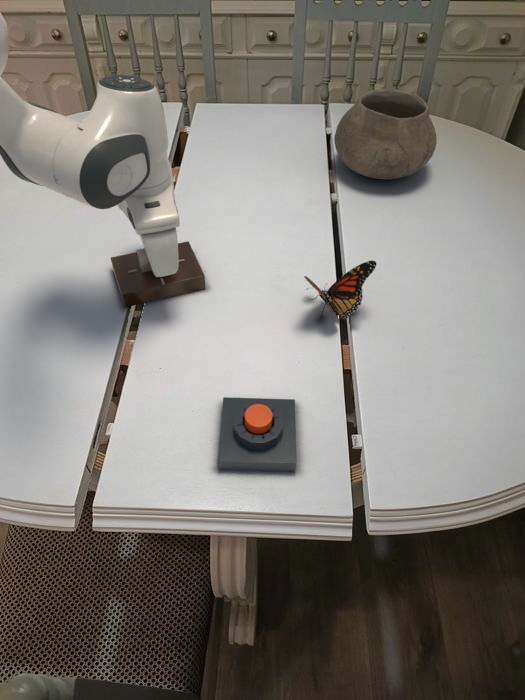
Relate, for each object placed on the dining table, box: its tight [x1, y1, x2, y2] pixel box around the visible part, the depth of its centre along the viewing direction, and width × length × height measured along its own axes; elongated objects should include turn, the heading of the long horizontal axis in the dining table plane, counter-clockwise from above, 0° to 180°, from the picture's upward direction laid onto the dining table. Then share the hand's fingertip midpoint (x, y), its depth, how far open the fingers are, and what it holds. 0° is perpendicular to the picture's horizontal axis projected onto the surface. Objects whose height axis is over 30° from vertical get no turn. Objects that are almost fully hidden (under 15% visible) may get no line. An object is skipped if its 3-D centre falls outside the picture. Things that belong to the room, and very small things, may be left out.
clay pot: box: [333, 88, 438, 180], centre depth 113 cm, size 22×21×15 cm
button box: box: [217, 396, 298, 472], centre depth 71 cm, size 10×10×4 cm
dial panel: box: [110, 241, 207, 308], centre depth 92 cm, size 14×10×3 cm
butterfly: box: [303, 260, 377, 320], centre depth 85 cm, size 12×10×10 cm
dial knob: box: [136, 248, 152, 273], centre depth 89 cm, size 6×2×4 cm, turn 111°
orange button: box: [245, 404, 273, 434], centre depth 69 cm, size 4×4×2 cm
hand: (156, 262), depth 90 cm, fingers closed on dial knob, 2 cm apart
